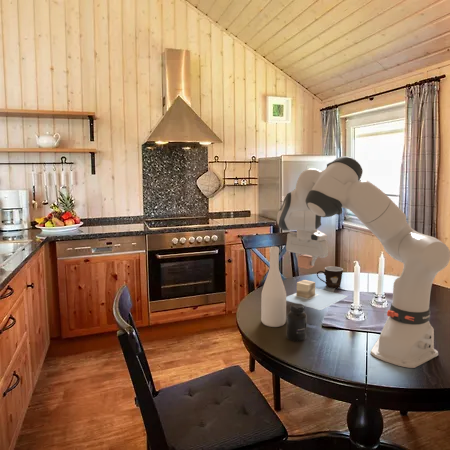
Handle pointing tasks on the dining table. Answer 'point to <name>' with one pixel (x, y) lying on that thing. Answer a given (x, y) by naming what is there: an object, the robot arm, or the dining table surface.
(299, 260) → the terracotta cube
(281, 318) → the wine bottle
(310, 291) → the maple block
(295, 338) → the supplement bottle
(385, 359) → the robot arm
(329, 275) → the coffee mug
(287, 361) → the dining table surface
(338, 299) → the white rectangular board
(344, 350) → the dining table surface
